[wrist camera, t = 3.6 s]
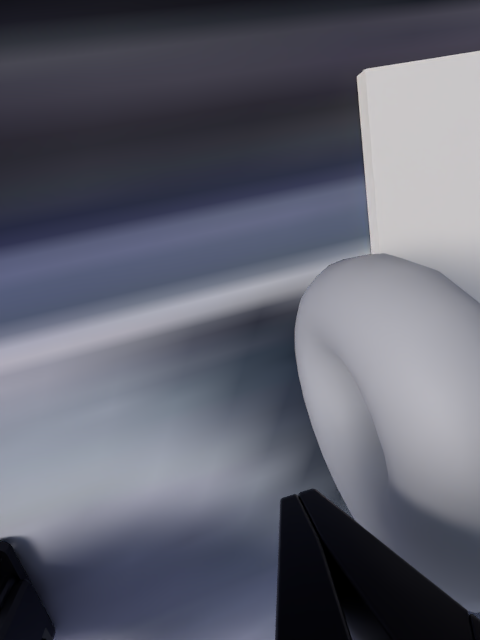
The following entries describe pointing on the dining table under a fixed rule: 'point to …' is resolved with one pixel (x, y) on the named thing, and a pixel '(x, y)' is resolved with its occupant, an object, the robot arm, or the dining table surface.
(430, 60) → the placemat
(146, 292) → the dining table surface
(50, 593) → the dining table surface
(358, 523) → the robot arm
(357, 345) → the donut
